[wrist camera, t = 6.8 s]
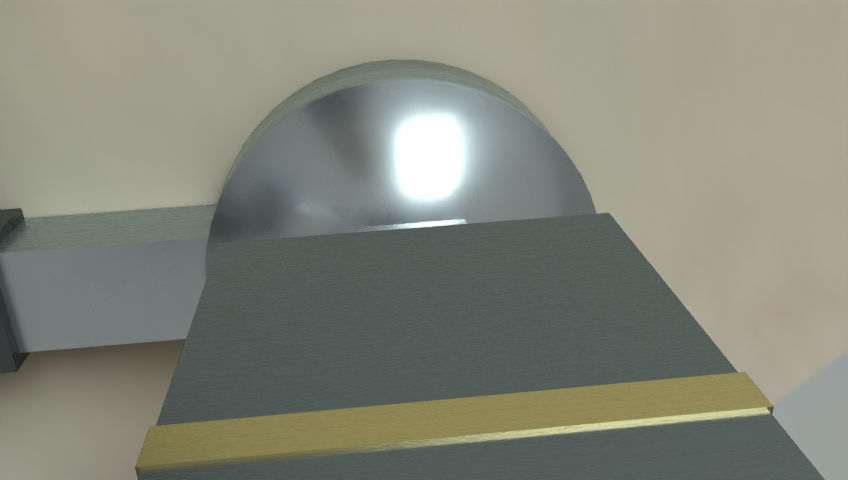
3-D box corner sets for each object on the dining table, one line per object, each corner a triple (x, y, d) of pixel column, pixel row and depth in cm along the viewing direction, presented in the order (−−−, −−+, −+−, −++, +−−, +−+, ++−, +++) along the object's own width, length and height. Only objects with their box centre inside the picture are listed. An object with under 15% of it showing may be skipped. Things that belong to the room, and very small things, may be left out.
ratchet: (-310, 450, 23) (-585, 688, 16) (-489, 114, 19) (-959, 245, 12) (569, 371, 25) (655, 557, 18) (582, 47, 21) (700, 129, 14)
